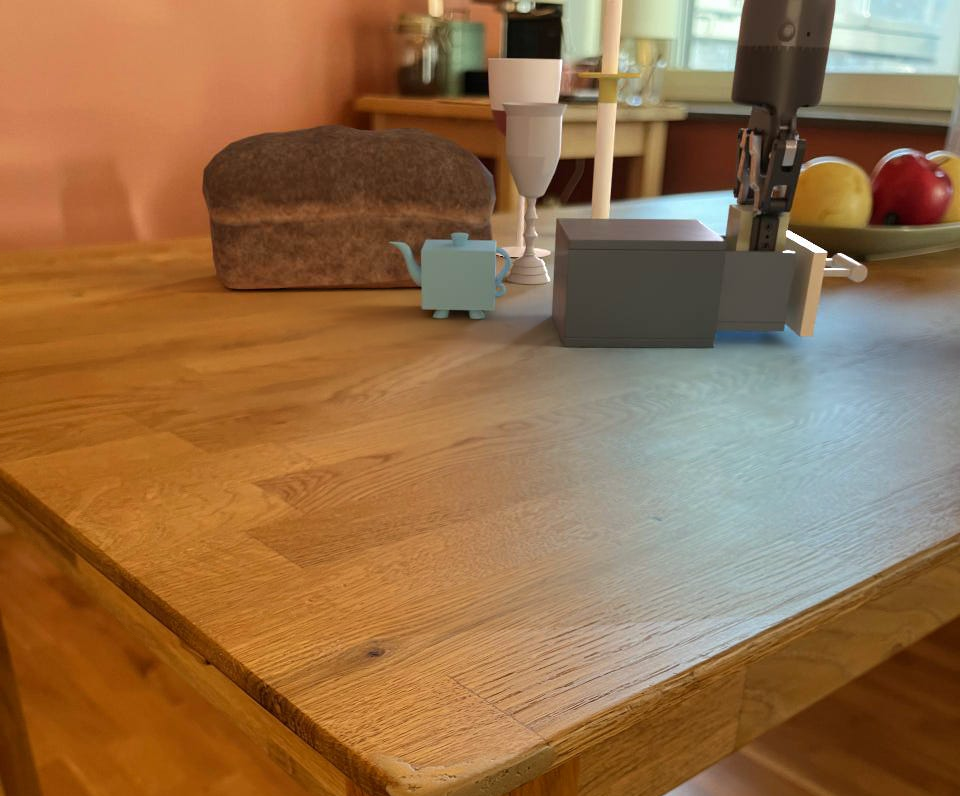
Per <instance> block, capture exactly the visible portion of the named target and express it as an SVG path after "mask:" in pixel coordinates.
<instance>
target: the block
mask: <svg viewBox="0 0 960 796" xmlns="http://www.w3.org/2000/svg"><path fill="white" fill-rule="evenodd" d="M753 208H754V205H737V204H729V206H728V214H727V222H726V227H725V228H726V229H725V234H726V236H725V240H726V241H727V246H726V251H749V244H750V237H751V230H752V223H753V217H754V213H753ZM790 216H791V211H790V212H785V213H784V215H783V217H778V218H780V221H779V228H778V234H777V241H776V248H775V251H784V249H785V242H786V236H787V231H788V228H789V222H790Z"/></svg>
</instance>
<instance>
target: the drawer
mask: <svg viewBox="0 0 960 796" xmlns="http://www.w3.org/2000/svg"><path fill="white" fill-rule="evenodd" d="M716 234H717V235H719V236H720V237H721V238H723V239H724V240H725V236H726V233H716ZM827 256H828V251H827V250H824V249H823V248H821V247H819V246H817V245H815V244H813V243H812V242H810V241H808V240H807V239H805V238H803V237H801V236H799V235H797V234H795V233H793V232H792V231H790V230H787V236H786V242H785V249H784V251H726V254H725V262H724V270H723V278H722V286H721V293H720V301H719V309H718V317H717V325H716V332H784V331H785V326H786V327H788V328H789V329H790V330H791V331H792V332H793V333H795V334H796V335H797V336H798V337H800V338H812V337H813V336H814V331H815V326H816V320H817V314H818V308H819V303H820V297H821V291H822V286H823V281H824V280H823V279H824V277H834V278H835V277H837V278H838V277H841V278H842V277H843V278H847V279H849V280H851V281H853V282H855V283H861V282H863V281H865V279H866V278H867V277H868V267H866V266H865V265H864V264H862V263H860V262H858V261H856V260H854V259H853V258H851V257H849V256H847V255H845V254H843V253H836V254H834V255H833V256H832V257H831V258H827ZM826 267H830V268H826Z"/></svg>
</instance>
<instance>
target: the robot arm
mask: <svg viewBox="0 0 960 796" xmlns="http://www.w3.org/2000/svg"><path fill="white" fill-rule="evenodd" d="M836 3H837V0H743V3H742V9H741V15H740V22H739V29H738V37H737V38H738V39H737V46H736V54H735V63H734V71H733V79H732V86H731V95H730V99H731V102H732V103H733V104H734V105H737V106H743V107H751V108H752V109H751V112H750V117H749V119H748V125H747V128H739V129H738V131H737V133H736V150H735V166H734V183H733V189H732V195H733V198H734V199H736V205H754V208H753V213H754V217H753V223H752V230H751V237H750V244H749V251H775V248H776V241H777V234H778V228H779V221H780V218H778V217H783V215H784V213H785V212H790V213H791V210H792V209H793V204H794V200H795V199H794V198H795V195H796V191H797V187H798V183H799V178H800V175H801V170H802V167H803V162H804V158H805V154H806V151H807V146H808V145H807V140H806V139H805V138H799V137H800V135H799V131H797V119H798V109H800V108H814V107H816V106H818V105H819V104H820V102H821V101H822V94H823V89H824V83H825V77H826V71H827V65H828V57H829V52H830V46H831V45H830V44H831V40H832V34H833V28H834V22H835V21H834V20H835V13H836ZM773 191H775V192H776V196H773Z"/></svg>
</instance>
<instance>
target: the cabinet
mask: <svg viewBox="0 0 960 796" xmlns="http://www.w3.org/2000/svg"><path fill="white" fill-rule="evenodd" d="M717 234H718V233H716V232H715V231H713V230H712V229H710V228H709V227H708V226H706V225H705V224H703V223H702V222H701V221H699V220H698V219H676V218H675V219H674V218H667V219H666V218H661V219H660V218H609V219H591V218H584V217H583V218H580V217H579V218H578V217H577V218H576V217H574V218H572V217H571V218H569V217H557V218H556V219H555V237H554V240H555V241H554V261H553V278H552V279H553V282H552V283H553V285H552V300H551V301H552V303H551V316H552V319H553V321H554V325H555V328H556V329H557V332H558V335H559V338H560V340H561V344H562V346H563V347H564V348H660V349H661V348H663V349H664V348H674V349H675V348H677V349H679V348H681V349H683V348H684V349H685V348H687V349H696V348H697V349H713V348H714V347H715V339H716V332H717V331H716V325H717V317H718V309H719V301H720V293H721V286H722V278H723V270H724V262H725V254H726V246H727V241H726V240H724V239H723V238H721V237H720V236H719V235H717Z"/></svg>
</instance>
